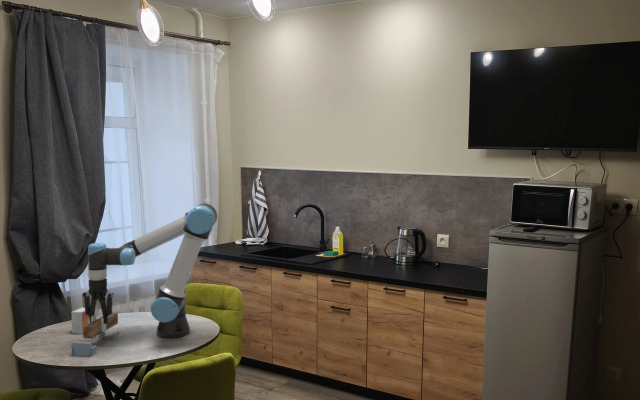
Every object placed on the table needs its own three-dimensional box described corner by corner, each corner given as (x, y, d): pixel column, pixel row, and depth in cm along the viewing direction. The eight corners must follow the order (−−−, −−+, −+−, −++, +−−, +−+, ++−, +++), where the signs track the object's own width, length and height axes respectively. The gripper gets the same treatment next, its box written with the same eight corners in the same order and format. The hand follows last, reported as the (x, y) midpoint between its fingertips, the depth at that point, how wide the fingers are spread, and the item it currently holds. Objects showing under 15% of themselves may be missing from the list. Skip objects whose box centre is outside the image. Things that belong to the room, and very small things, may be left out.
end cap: (96, 352, 238) (96, 339, 237) (90, 356, 233) (89, 343, 233) (78, 351, 239) (77, 338, 239) (71, 355, 235) (71, 342, 234)
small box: (82, 334, 262) (81, 312, 261) (71, 333, 263) (70, 311, 262) (92, 329, 270) (91, 307, 269) (82, 328, 271) (81, 307, 270)
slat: (117, 323, 260) (117, 312, 260) (91, 338, 239) (91, 327, 238) (109, 323, 261) (109, 312, 261) (83, 338, 239) (83, 326, 239)
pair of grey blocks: (119, 337, 257) (119, 331, 257) (115, 340, 254) (115, 333, 253) (102, 336, 258) (102, 330, 258) (98, 339, 255) (98, 332, 255)
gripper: (120, 277, 248) (121, 328, 250) (84, 275, 251) (85, 326, 253) (111, 281, 241) (112, 334, 243) (74, 279, 243) (76, 332, 245)
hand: (99, 330), depth 248 cm, fingers closed on slat, 4 cm apart
